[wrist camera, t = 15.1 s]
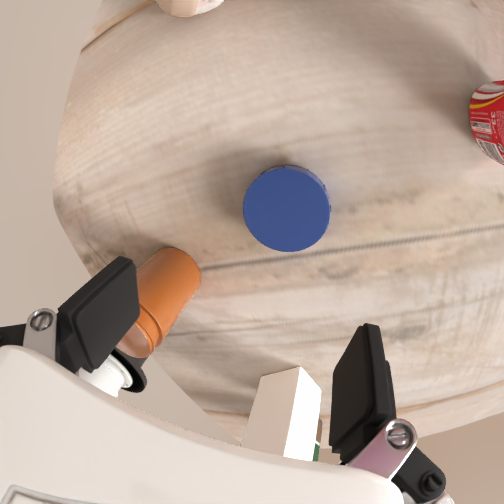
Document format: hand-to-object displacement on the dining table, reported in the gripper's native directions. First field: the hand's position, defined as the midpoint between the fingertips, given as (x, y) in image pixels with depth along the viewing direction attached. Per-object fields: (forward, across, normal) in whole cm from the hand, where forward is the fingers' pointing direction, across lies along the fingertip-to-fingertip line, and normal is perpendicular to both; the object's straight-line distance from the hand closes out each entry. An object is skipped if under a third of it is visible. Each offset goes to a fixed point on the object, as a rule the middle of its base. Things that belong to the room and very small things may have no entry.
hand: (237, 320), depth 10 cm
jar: (+14, +10, +9) cm, 19 cm away
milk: (+14, -6, +22) cm, 27 cm away
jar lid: (+12, 0, 0) cm, 12 cm away
